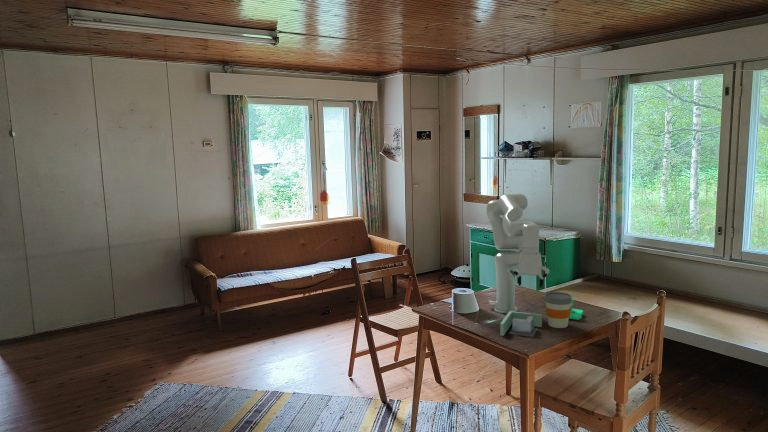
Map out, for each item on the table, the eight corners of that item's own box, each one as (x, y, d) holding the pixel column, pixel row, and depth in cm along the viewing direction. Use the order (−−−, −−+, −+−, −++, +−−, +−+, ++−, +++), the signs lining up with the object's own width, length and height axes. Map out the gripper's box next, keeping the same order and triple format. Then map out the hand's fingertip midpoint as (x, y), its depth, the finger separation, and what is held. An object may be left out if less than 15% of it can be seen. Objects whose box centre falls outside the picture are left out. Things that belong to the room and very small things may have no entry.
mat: (508, 333, 250) (508, 333, 250) (513, 326, 260) (513, 325, 260) (533, 337, 245) (533, 336, 245) (537, 329, 255) (537, 328, 255)
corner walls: (500, 335, 248) (500, 323, 247) (509, 322, 266) (509, 310, 265) (534, 340, 241) (534, 327, 241) (541, 326, 259) (541, 314, 259)
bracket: (530, 334, 248) (530, 321, 247) (512, 332, 252) (512, 319, 251) (533, 328, 255) (533, 316, 255) (515, 326, 259) (515, 314, 258)
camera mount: (578, 321, 265) (578, 301, 263) (562, 319, 269) (562, 299, 267) (583, 315, 275) (583, 295, 273) (568, 313, 279) (568, 293, 277)
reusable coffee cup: (577, 327, 256) (577, 297, 254) (554, 330, 252) (554, 300, 250) (561, 319, 268) (561, 290, 266) (539, 322, 264) (539, 293, 262)
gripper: (510, 250, 248) (510, 286, 250) (548, 253, 240) (548, 289, 243) (513, 247, 254) (513, 282, 257) (551, 249, 247) (550, 285, 249)
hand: (530, 286), depth 250 cm, fingers open, 9 cm apart
